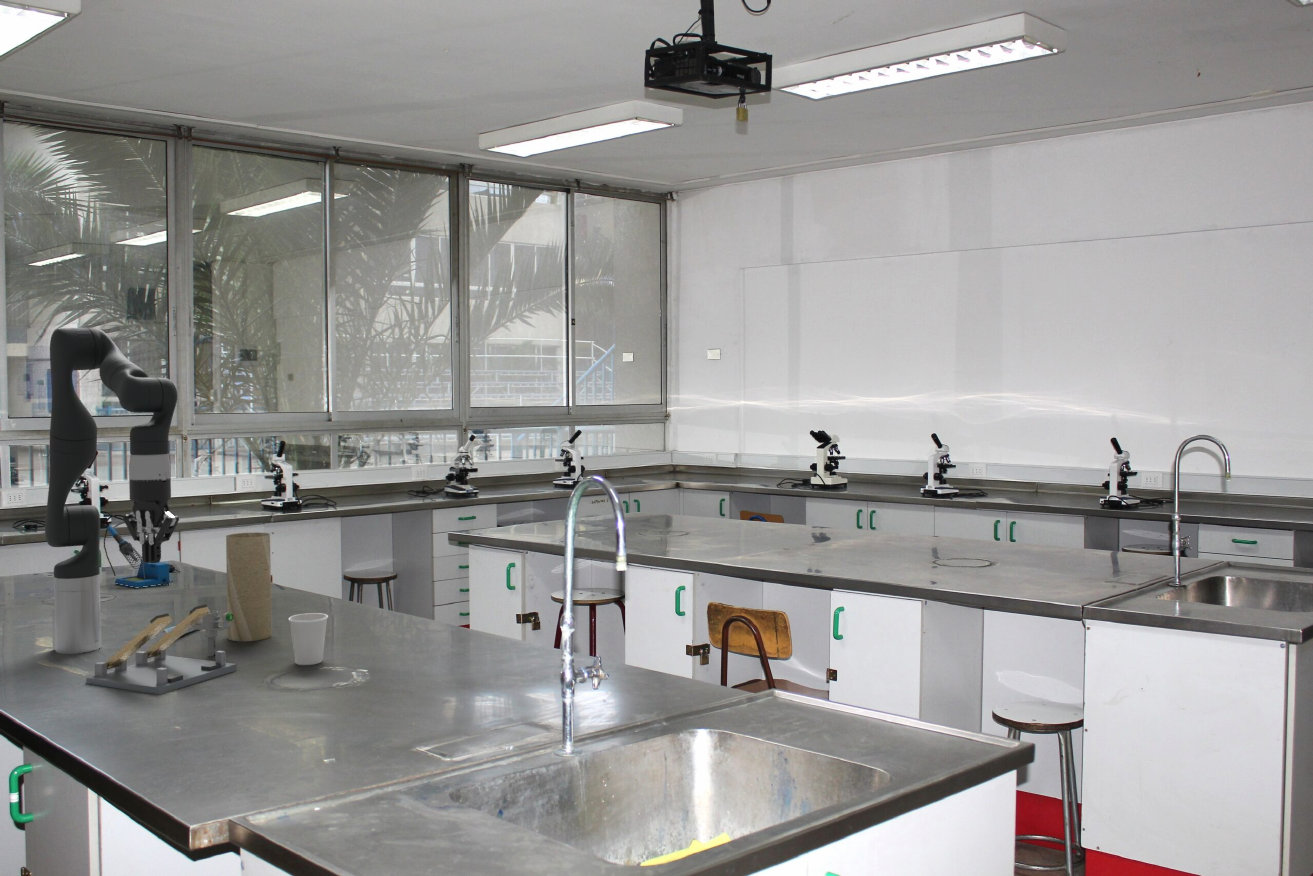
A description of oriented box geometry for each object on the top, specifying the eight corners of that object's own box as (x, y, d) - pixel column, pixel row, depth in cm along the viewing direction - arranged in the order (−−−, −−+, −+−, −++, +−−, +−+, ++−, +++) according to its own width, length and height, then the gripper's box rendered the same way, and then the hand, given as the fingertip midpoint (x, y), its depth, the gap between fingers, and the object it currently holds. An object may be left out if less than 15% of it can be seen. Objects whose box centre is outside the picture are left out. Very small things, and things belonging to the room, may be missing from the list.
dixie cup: (316, 667, 226) (315, 621, 226) (281, 665, 228) (280, 620, 228) (335, 658, 235) (335, 613, 234) (301, 656, 236) (301, 612, 236)
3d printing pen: (165, 629, 247) (154, 632, 248) (169, 642, 247) (157, 645, 247) (207, 616, 267) (196, 618, 267) (210, 628, 266) (199, 631, 267)
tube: (236, 643, 249) (234, 538, 248) (221, 636, 256) (219, 534, 255) (278, 637, 255) (276, 535, 254) (262, 630, 263) (261, 531, 262)
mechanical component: (228, 658, 234) (227, 614, 234) (187, 656, 236) (186, 612, 236) (236, 655, 237) (235, 611, 237) (195, 653, 239) (194, 610, 239)
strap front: (104, 671, 216) (100, 663, 216) (116, 668, 218) (112, 660, 219) (160, 624, 209) (155, 616, 210) (172, 621, 212) (167, 613, 212)
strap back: (144, 660, 225) (140, 652, 225) (155, 657, 228) (152, 649, 228) (199, 614, 218) (195, 606, 219) (210, 612, 221) (206, 604, 222)
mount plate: (86, 685, 213) (85, 663, 213) (166, 662, 231) (166, 642, 231) (159, 695, 205) (159, 672, 205) (236, 670, 224) (236, 650, 223)
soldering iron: (197, 568, 363) (196, 515, 362) (251, 577, 345) (250, 521, 344) (94, 583, 334) (93, 526, 334) (147, 593, 316) (146, 533, 316)
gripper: (109, 477, 210) (111, 563, 211) (159, 479, 205) (161, 567, 205) (140, 474, 217) (142, 558, 218) (190, 476, 212) (191, 561, 212)
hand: (151, 562), depth 211 cm, fingers closed
